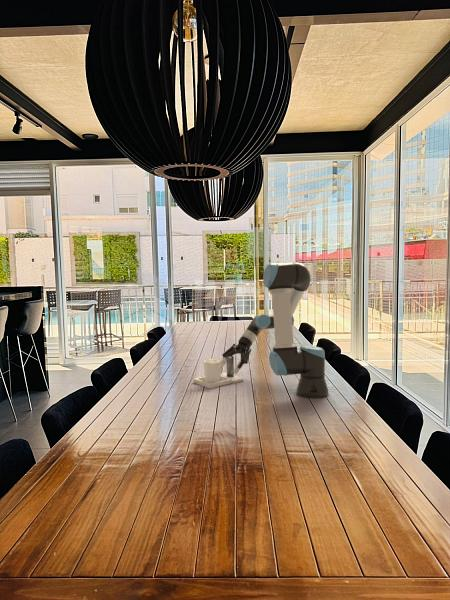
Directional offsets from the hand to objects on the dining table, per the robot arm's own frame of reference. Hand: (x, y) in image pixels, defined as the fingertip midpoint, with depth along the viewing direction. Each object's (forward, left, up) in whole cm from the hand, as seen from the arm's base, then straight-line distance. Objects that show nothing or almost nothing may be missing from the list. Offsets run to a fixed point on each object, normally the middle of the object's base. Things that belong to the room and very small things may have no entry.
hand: (226, 370), depth 238 cm
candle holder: (0, +10, -5) cm, 11 cm away
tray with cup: (0, +6, -5) cm, 8 cm away
